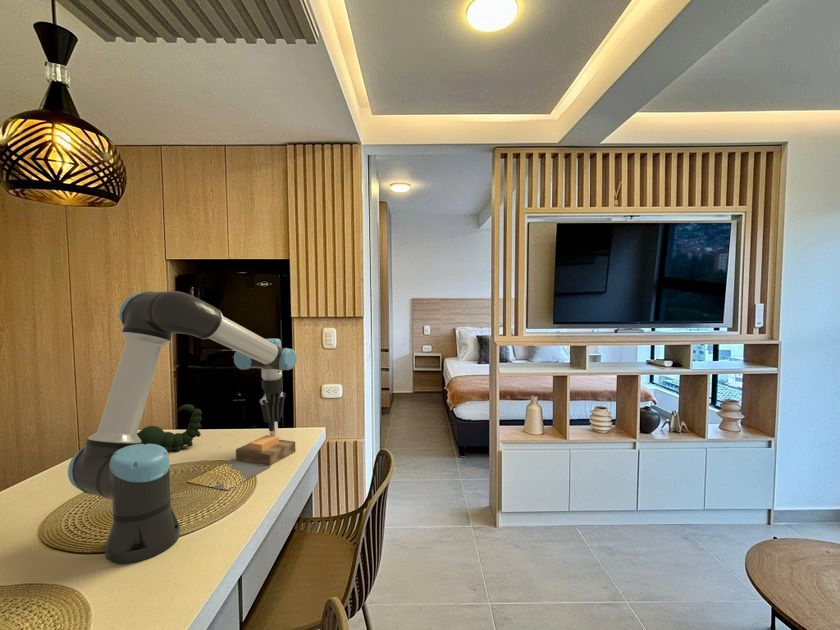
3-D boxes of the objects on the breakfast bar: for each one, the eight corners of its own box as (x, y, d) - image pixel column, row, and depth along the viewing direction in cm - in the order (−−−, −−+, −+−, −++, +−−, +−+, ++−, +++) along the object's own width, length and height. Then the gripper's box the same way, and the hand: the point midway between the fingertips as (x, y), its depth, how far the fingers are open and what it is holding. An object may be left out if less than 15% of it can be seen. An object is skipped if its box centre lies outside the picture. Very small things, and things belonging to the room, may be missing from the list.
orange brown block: (261, 451, 149) (261, 444, 149) (249, 449, 151) (249, 442, 151) (278, 443, 157) (278, 436, 157) (266, 441, 160) (266, 435, 159)
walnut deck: (270, 465, 146) (269, 454, 146) (236, 459, 152) (235, 449, 152) (295, 451, 159) (295, 441, 159) (263, 446, 165) (263, 437, 165)
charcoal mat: (227, 491, 127) (227, 490, 127) (185, 482, 134) (185, 481, 134) (270, 467, 145) (270, 466, 145) (232, 460, 151) (231, 459, 151)
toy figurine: (198, 446, 172) (125, 454, 157) (201, 401, 172) (128, 405, 158) (200, 452, 164) (124, 462, 150) (203, 405, 164) (127, 410, 150)
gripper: (267, 382, 151) (269, 445, 152) (291, 375, 163) (292, 434, 164) (252, 381, 153) (254, 442, 154) (276, 374, 166) (277, 432, 167)
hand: (273, 438), depth 159 cm, fingers closed
